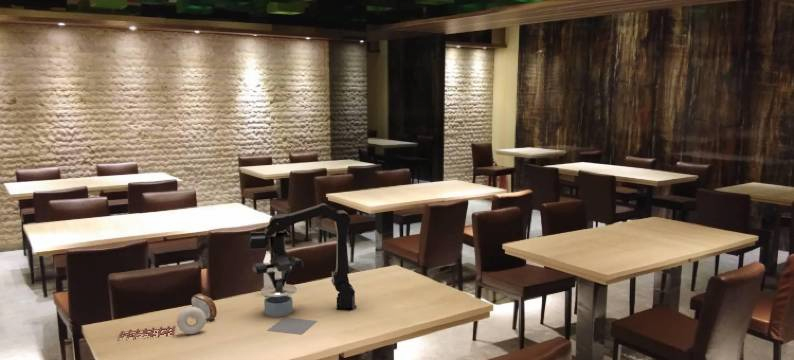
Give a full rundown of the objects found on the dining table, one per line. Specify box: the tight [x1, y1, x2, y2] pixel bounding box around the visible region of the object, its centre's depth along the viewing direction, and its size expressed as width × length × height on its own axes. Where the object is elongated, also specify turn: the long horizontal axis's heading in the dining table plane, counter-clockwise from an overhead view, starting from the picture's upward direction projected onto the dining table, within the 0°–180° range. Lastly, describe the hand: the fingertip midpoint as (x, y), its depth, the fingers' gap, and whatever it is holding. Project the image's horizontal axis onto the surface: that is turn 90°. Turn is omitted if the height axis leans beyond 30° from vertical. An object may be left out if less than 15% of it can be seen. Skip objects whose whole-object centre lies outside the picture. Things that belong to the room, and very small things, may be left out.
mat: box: [266, 316, 318, 336], centre depth 228 cm, size 14×14×1 cm
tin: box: [190, 293, 218, 321], centre depth 239 cm, size 15×3×8 cm, turn 47°
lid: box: [260, 278, 298, 297], centre depth 240 cm, size 14×14×5 cm
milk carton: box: [262, 250, 287, 297], centre depth 264 cm, size 7×7×19 cm
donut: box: [176, 306, 207, 335], centre depth 222 cm, size 10×4×10 cm, turn 113°
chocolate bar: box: [117, 325, 177, 340], centre depth 222 cm, size 7×19×2 cm, turn 104°
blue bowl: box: [263, 295, 294, 318], centre depth 243 cm, size 11×11×6 cm
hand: (278, 287), depth 240 cm, fingers closed on lid, 3 cm apart
